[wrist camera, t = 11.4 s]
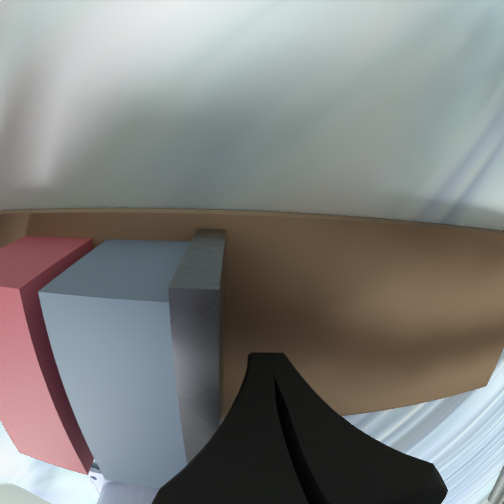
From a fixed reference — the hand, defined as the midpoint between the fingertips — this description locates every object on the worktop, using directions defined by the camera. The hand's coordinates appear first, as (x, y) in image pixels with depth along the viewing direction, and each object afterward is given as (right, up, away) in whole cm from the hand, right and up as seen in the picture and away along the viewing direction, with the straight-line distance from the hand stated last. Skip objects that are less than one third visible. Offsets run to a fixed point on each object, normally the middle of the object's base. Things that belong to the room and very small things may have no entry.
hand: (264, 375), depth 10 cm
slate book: (-4, +1, +2) cm, 5 cm away
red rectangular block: (-9, +1, +2) cm, 9 cm away
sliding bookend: (-2, +1, +2) cm, 3 cm away
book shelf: (0, +1, +3) cm, 3 cm away
